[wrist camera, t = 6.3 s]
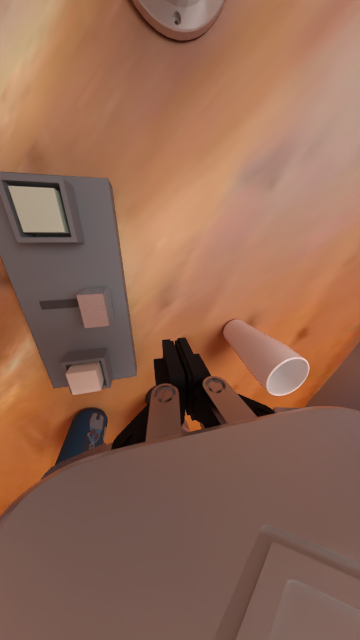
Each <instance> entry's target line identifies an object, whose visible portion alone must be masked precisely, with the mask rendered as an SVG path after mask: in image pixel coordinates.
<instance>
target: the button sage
mask: <svg viewBox="0 0 360 640" xmlns="http://www.w3.org/2000/svg"><path fill="white" fill-rule="evenodd" d="M8 188H9V191H10V194H11V197H12V200H13V203H14V206H15V209H16V212H17V215H18V218H19V221H20V224H21V226H22V229H23V232H26V233H33V234H71V233H70V228H69V224H68V220H67V216H66V212H65V207H64V203H63V199H62V195H61V193H60V192H59V191H57V190H56V189H54V188H42V187H22V186H8Z"/></svg>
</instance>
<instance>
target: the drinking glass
mask: <svg viewBox="0 0 360 640" xmlns="http://www.w3.org/2000/svg"><path fill="white" fill-rule="evenodd" d="M223 335H224V338H225V339H226V340H227V342H228V343H229V344H230V345H231V347H232V348H233V349H234V351H235V352H236V353H237V355H238V356H239V358H240V359H241V360H242V362H243V363H244V364H245V366H246V367H247V369H248V370H249V371H250V373H251V374H252V375H253V376H254V377H255V379H256V380H257V381H258V382H259V383H260V384H261V385H262V386H263V387H264V388H265V389H266V390H267V391H268V392H269V393H270V394H272V395H274V396H282V395H286V394H289V393H291V392H293V391H294V390H296V389H297V388H298V387H300V386H301V385H302V383H303V382H304V381H305V380H306V378H307V376H308V373H309V363H308V362H307V360H306V359H304V358H303V357H302V356H300V355H299V354H298V353H296V352H295V351H294V350H292V349H291V348H289V347H288V346H286V345H285V344H283V343H281V342H280V341H278V340H276V339H274V338H272V337H270V336H269V335H267V334H265V333H263V332H261V331H259V330H257V329H256V328H254V327H252V326H250V325H248V324H247V323H245V322H244V321H242V320H239V319H235V320H232V321H230V322H228V323H227V324H226V326H225V327H224V330H223Z"/></svg>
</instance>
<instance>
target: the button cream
mask: <svg viewBox="0 0 360 640" xmlns="http://www.w3.org/2000/svg"><path fill="white" fill-rule="evenodd" d="M66 377H67V380H68V383H69V386H70V388H71V391H72V394H73V395H77V394H83V393H90V392H96V391H101V389H102V386H103V382H104V379H105V376H104V372H103V368H102V363H101V361H94V362H86V363H78V364H71V366H70V368H69V369H68V371H67V373H66Z"/></svg>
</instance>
